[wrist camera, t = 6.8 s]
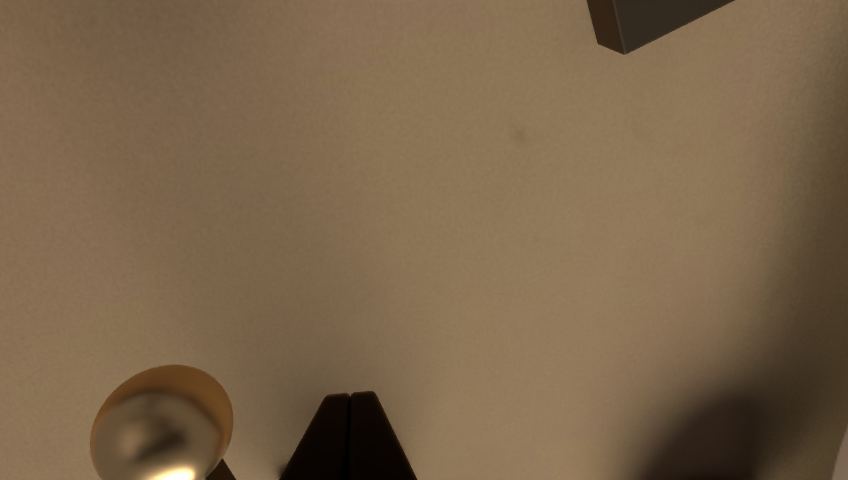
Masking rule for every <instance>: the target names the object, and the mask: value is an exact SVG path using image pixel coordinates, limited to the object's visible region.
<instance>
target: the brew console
mask: <svg viewBox="0 0 848 480" xmlns="http://www.w3.org/2000/svg"><path fill="white" fill-rule="evenodd" d="M732 1H734V0H587V2H588V6H589V10H590V14H591V18H592V22H593V26H594V30H595V34H596V38H597V42H598V44H599V45H602V46H604V47H607V48H609V49H611V50H614V51H616V52H619V53H621V54H623V55H625V54H628V53H630V52H632V51H634V50H636V49H638V48H640V47H642V46H644V45H646V44H648V43H650V42H652V41H654V40H656V39H658V38H660V37H662V36H664V35H666V34H668V33H670V32H672V31H674V30H676V29H678V28H680V27H682V26H684V25H686V24H688V23H690V22H692V21H694V20H696V19H698V18H700V17H702V16H704V15H706V14H708V13H710V12H712V11H714V10H716V9H718V8H720V7H722V6H724V5H726V4H728V3H730V2H732Z"/></svg>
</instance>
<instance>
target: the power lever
mask: <svg viewBox="0 0 848 480" xmlns="http://www.w3.org/2000/svg"><path fill="white" fill-rule="evenodd" d="M232 430H233V410H232V406H231V402H230V400H229V397H228V395H227V393H226V392H225V390H224V388H223V387H222V386H221V385H220V383H219V382H218V381H217V380H216V379H214V378H213V377H212V376H211V375H209V374H208V373H206V372H204V371H202V370H199V369H196V368H193V367H189V366H183V365H165V366H159V367H155V368H151V369H148V370H145V371H143V372H141V373H139V374H136V375H135V376H133V377H131V378H130V379H128V380H127V381H125V382H124V383H122V384H121V385H120V386H119V387H118V388H117V389H116V390H114V391H113V392H112V394H111V395H110V396H109V397H108V398H107V399H106V401H105V402H104V404H103V405H102V407H101V408H100V410H99V412H98V414H97V416H96V418H95V421H94V423H93V427H92V431H91V436H90V454H91V458H92V462H93V465H94V468H95V470H96V472H97V473H98V475H99V477H100V478H101V479H102V480H236V479H235V477H234V476H233V474H232V472H231V471H230V469H229V468H228V466H227V465H226V463H225V461H224V460H223V456H224V454H225V452H226V450H227V448H228V445H229V443H230V440H231V436H232Z"/></svg>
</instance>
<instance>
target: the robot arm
mask: <svg viewBox="0 0 848 480" xmlns="http://www.w3.org/2000/svg"><path fill="white" fill-rule="evenodd" d="M279 480H417V478H416V476H415V474H414V472H413V470H412V468H411V466H410V463H409V461H408V459H407V457H406V455H405V453H404V451H403V449H402V447H401V445H400V443H399V441H398V439H397V437H396V435H395V432H394V430H393V428H392V426H391V424H390V422H389V420H388V418H387V416H386V414H385V412H384V410H383V408H382V406H381V403H380V401H379V399H378V397H377V395H376V394H375V393H374V392H373V391H365V392H355V393H353V394H352V395H351V397H350V395H349V394H347V393H342V394H330V395H327V396H326V397H325V398H324V399H323V401H322V403H321V405H320V406H319V408H318V410H317V412H316V414H315V416H314V417H313V419H312V421H311V423H310V425H309V426H308V428H307V430H306V432H305V434H304V435H303V437H302V439H301V441H300V443H299V445H298V446H297V448H296V450H295V452H294V454H293V455H292V457H291V459H290V461H289V463H288V464H287V466H286V468H285V470H284V472H283V473H282V475H281V477H280V479H279Z"/></svg>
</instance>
